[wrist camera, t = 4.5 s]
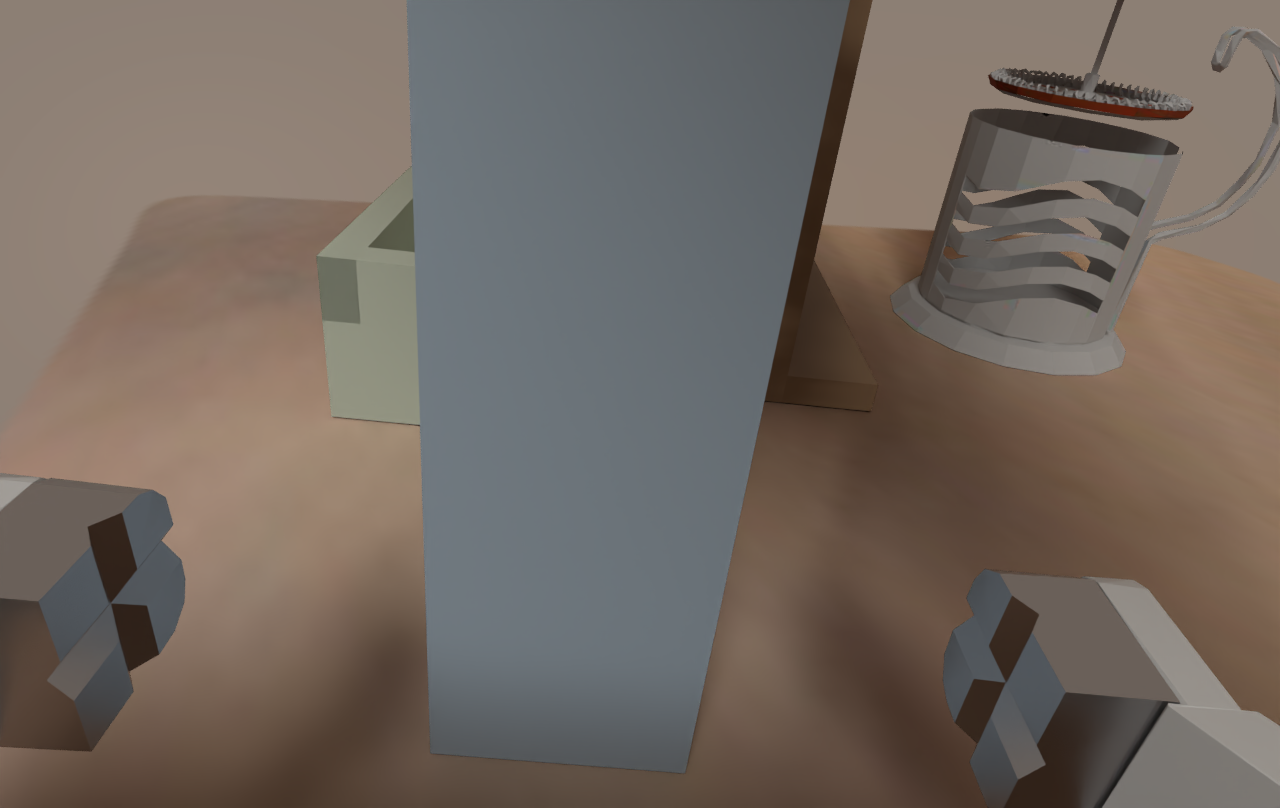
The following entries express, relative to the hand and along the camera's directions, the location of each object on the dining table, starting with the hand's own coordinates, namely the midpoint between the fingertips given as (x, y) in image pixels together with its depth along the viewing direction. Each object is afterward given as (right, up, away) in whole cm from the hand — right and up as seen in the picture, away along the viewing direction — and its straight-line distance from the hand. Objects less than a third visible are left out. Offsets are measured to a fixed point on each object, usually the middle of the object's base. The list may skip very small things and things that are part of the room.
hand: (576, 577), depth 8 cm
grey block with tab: (-1, -3, +9) cm, 9 cm away
